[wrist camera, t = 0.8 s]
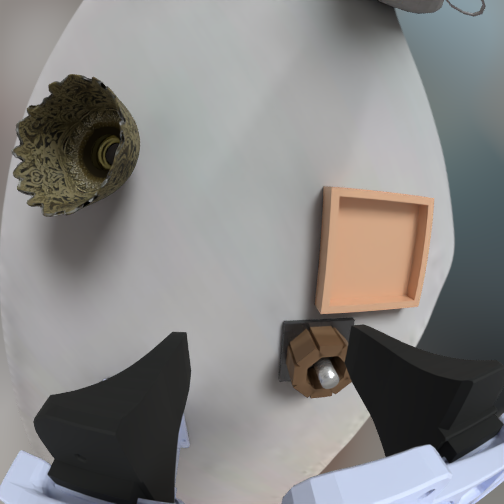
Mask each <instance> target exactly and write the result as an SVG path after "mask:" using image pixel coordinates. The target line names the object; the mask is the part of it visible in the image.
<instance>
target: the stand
mask: <svg viewBox="0 0 504 504" xmlns="http://www.w3.org/2000/svg"><path fill="white" fill-rule="evenodd" d="M354 321H355V320H354V319H353V317H352V318H337V319H320V320H297V321H284V326H283V338H282V349H281V360H280V371H279V382H282V381H291V379H290V375H289V372H288V368H287V365H286V359H287V349H288V346H291V345H290V342H291V341H292V340H293V339H295V338H296V337H297V336H298V335H299V334H301V333H302V332H303V331H304V330H305V329H307V330H308V331H309V332H310V327H322V326H331V327H332V328H334V327H335V328H336V329H337V330H338V331H339V333H340V334H341V335H342V336H343V337H344V338H345V339H346V340H347V342H349V337H350V331H351V326H354ZM332 358H333V357H322V358H320V359H319V360H318V361H317V362H315V363H314V364H313V365H312V366H310V367H309V368H313V367H314V369H315V371H316V373H317V376H318V378H319V380H320V383H321V385H322V387H323V388H325V389H331V388H333V387H335V386H336V385H337V384H338V383H339V377H338V375H337V373H336V371H335V369H334V367H333V365H332V363H331V361H330V359H332Z"/></svg>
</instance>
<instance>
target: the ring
mask: <svg viewBox="0 0 504 504" xmlns="http://www.w3.org/2000/svg"><path fill="white" fill-rule="evenodd" d="M290 345H291V346H288V349H287V359H286V365H287V368H288V372H289V375H290V379H291V382H292V385H293V387H294V388H295V389H296V390H297V391H299V392H300V393H301V394H303V395H304V396H306V397H307V398H308V397H309V396H310V398H319V397H328V396H332V392H333V393H334V394H336V393H338V392H339V391H340V390H342V389H343V388H344V387H346V386H347V385H348V384H349V383H351V382H352V381H351V379H350V376H349V374H348V371H347V368H346V365H345V358H346V353H347V348H348V342H347V340H346V339H345V338H344V337H343V336H342V335H341V334H340V333H339V331H338V330H337V329H336V328H335V327H334V328H332V327H331V326H322V327H310V332H309V331H308V330H307V329H305V330H304V331H303V332H302V333H301V334H299V335H298V336H297V337H296V338H295V339H293V340H292V341H291V342H290ZM322 357H333V358H332V359H330V361H331V363H332V365H333V367H334V369H335V371H336V373H337V375H338V377H339V383H338V384H337V385H336V386H335V387H333V388H331V389H325V388H323V387H322V385H321V383H320V380H319V378H318V376H317V373H316V371H315V369H314V367H313V368H309V367H310V366H312V365H313V364H314V363H315V362H317V361H318V360H319V359H320V358H322Z"/></svg>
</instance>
